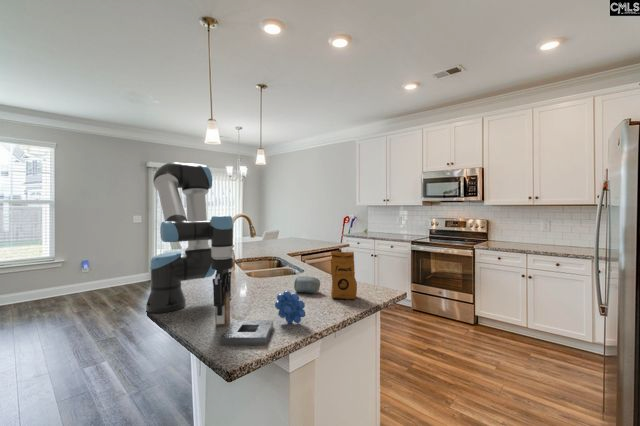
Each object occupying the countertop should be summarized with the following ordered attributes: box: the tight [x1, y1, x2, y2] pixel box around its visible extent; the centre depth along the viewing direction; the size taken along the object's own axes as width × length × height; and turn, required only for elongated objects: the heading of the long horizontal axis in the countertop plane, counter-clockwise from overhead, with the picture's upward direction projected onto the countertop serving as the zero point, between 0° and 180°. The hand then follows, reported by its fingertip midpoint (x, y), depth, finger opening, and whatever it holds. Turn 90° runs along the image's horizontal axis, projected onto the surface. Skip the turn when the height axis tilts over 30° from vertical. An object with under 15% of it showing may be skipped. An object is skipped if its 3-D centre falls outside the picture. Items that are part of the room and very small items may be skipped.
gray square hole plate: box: [219, 319, 274, 347], centre depth 97 cm, size 14×14×2 cm
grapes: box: [274, 290, 306, 324], centre depth 106 cm, size 12×7×12 cm, turn 79°
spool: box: [293, 275, 321, 295], centre depth 147 cm, size 14×10×10 cm
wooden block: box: [214, 290, 231, 327], centre depth 107 cm, size 4×4×12 cm
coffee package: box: [330, 251, 358, 300], centre depth 138 cm, size 10×12×22 cm
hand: (222, 321), depth 107 cm, fingers closed on wooden block, 4 cm apart
